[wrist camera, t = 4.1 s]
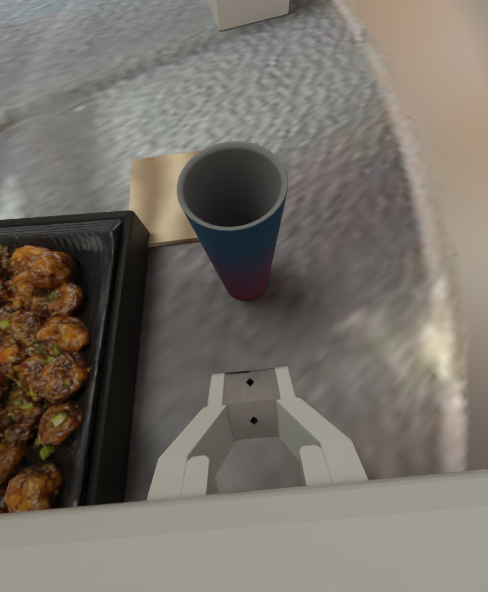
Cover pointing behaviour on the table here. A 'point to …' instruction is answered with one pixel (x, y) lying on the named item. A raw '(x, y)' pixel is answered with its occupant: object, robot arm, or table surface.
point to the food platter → (68, 357)
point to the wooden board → (161, 198)
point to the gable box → (245, 11)
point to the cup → (236, 211)
